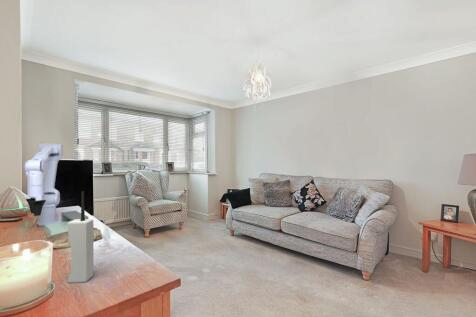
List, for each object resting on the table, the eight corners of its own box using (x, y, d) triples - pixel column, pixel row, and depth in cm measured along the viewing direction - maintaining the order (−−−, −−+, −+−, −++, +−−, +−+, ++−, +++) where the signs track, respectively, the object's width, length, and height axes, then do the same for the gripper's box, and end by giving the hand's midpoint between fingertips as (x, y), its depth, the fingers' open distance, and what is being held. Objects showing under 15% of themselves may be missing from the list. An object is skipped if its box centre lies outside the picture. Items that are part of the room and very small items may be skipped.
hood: (61, 224, 121) (61, 212, 121) (75, 222, 125) (75, 210, 125) (73, 233, 107) (73, 219, 107) (88, 230, 112) (88, 216, 112)
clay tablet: (44, 254, 84) (105, 239, 98) (44, 241, 84) (105, 228, 99) (39, 246, 93) (95, 233, 108) (38, 233, 94) (95, 222, 108)
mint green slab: (44, 231, 112) (44, 224, 112) (73, 225, 122) (73, 219, 122) (51, 237, 103) (51, 230, 103) (82, 230, 112) (82, 224, 112)
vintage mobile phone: (75, 276, 68) (75, 190, 68) (93, 275, 68) (93, 190, 68) (67, 283, 64) (67, 192, 64) (86, 282, 64) (86, 192, 64)
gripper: (21, 185, 111) (21, 213, 111) (26, 187, 101) (26, 218, 101) (40, 183, 116) (40, 210, 116) (47, 185, 106) (47, 215, 106)
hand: (35, 214), depth 109 cm, fingers open, 7 cm apart
